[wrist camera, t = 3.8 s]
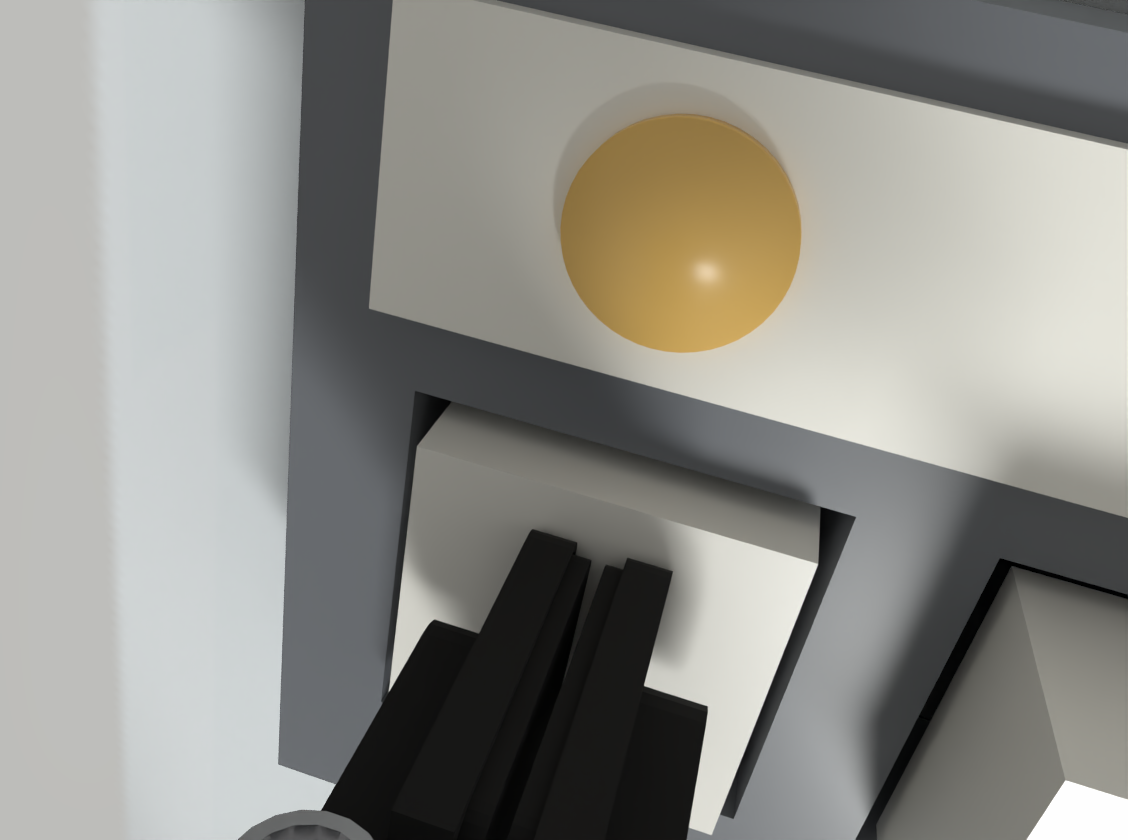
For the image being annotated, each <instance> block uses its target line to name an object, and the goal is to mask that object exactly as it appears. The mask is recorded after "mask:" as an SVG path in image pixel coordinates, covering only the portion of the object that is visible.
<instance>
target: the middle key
mask: <svg viewBox="0 0 1128 840" xmlns="http://www.w3.org/2000/svg"><path fill="white" fill-rule="evenodd" d="M876 829H877V840H1128V599H1125V598H1122V597H1118V596H1115V595H1111V594H1108V593H1104V592H1101V591H1097V590H1094V589H1090V588H1087V587H1083V586H1080V585H1076V584H1073V583H1069V582H1066V581H1062V580H1059V579H1055V578H1052V577H1048V576H1045V575H1041V574H1038V573H1034V572H1031V571H1027V570H1024V569H1020V568H1017V567H1013V566H1011V568H1010V570H1009V572H1008V574H1007V576H1006V578H1005V580H1004V582H1003V584H1002V586H1001V587H1000V589H999V591H998V593H997V595H996V597H995V599H994V601H993V603H992V605H991V607H990V608H989V610H988V612H987V614H986V616H985V618H984V620H983V622H982V624H981V626H980V628H979V629H978V631H977V633H976V635H975V637H974V639H973V641H972V643H971V645H970V647H969V649H968V650H967V652H966V654H965V656H964V658H963V660H962V662H961V664H960V666H959V668H958V670H957V671H956V673H955V675H954V677H953V679H952V681H951V683H950V685H949V687H948V689H947V691H946V692H945V694H944V696H943V698H942V700H941V702H940V704H939V706H938V708H937V710H936V711H935V713H934V715H933V717H932V719H931V721H930V723H929V725H928V727H927V729H926V731H925V732H924V734H923V736H922V738H921V740H920V742H919V744H918V746H917V748H916V750H915V752H914V753H913V755H912V757H911V759H910V761H909V763H908V765H907V767H906V769H905V771H904V773H903V774H902V776H901V778H900V780H899V782H898V784H897V786H896V788H895V790H894V792H893V794H892V795H891V797H890V799H889V801H888V803H887V805H886V807H885V809H884V811H883V813H882V815H881V816H880V818H879V820H878V822H877V824H876Z"/></svg>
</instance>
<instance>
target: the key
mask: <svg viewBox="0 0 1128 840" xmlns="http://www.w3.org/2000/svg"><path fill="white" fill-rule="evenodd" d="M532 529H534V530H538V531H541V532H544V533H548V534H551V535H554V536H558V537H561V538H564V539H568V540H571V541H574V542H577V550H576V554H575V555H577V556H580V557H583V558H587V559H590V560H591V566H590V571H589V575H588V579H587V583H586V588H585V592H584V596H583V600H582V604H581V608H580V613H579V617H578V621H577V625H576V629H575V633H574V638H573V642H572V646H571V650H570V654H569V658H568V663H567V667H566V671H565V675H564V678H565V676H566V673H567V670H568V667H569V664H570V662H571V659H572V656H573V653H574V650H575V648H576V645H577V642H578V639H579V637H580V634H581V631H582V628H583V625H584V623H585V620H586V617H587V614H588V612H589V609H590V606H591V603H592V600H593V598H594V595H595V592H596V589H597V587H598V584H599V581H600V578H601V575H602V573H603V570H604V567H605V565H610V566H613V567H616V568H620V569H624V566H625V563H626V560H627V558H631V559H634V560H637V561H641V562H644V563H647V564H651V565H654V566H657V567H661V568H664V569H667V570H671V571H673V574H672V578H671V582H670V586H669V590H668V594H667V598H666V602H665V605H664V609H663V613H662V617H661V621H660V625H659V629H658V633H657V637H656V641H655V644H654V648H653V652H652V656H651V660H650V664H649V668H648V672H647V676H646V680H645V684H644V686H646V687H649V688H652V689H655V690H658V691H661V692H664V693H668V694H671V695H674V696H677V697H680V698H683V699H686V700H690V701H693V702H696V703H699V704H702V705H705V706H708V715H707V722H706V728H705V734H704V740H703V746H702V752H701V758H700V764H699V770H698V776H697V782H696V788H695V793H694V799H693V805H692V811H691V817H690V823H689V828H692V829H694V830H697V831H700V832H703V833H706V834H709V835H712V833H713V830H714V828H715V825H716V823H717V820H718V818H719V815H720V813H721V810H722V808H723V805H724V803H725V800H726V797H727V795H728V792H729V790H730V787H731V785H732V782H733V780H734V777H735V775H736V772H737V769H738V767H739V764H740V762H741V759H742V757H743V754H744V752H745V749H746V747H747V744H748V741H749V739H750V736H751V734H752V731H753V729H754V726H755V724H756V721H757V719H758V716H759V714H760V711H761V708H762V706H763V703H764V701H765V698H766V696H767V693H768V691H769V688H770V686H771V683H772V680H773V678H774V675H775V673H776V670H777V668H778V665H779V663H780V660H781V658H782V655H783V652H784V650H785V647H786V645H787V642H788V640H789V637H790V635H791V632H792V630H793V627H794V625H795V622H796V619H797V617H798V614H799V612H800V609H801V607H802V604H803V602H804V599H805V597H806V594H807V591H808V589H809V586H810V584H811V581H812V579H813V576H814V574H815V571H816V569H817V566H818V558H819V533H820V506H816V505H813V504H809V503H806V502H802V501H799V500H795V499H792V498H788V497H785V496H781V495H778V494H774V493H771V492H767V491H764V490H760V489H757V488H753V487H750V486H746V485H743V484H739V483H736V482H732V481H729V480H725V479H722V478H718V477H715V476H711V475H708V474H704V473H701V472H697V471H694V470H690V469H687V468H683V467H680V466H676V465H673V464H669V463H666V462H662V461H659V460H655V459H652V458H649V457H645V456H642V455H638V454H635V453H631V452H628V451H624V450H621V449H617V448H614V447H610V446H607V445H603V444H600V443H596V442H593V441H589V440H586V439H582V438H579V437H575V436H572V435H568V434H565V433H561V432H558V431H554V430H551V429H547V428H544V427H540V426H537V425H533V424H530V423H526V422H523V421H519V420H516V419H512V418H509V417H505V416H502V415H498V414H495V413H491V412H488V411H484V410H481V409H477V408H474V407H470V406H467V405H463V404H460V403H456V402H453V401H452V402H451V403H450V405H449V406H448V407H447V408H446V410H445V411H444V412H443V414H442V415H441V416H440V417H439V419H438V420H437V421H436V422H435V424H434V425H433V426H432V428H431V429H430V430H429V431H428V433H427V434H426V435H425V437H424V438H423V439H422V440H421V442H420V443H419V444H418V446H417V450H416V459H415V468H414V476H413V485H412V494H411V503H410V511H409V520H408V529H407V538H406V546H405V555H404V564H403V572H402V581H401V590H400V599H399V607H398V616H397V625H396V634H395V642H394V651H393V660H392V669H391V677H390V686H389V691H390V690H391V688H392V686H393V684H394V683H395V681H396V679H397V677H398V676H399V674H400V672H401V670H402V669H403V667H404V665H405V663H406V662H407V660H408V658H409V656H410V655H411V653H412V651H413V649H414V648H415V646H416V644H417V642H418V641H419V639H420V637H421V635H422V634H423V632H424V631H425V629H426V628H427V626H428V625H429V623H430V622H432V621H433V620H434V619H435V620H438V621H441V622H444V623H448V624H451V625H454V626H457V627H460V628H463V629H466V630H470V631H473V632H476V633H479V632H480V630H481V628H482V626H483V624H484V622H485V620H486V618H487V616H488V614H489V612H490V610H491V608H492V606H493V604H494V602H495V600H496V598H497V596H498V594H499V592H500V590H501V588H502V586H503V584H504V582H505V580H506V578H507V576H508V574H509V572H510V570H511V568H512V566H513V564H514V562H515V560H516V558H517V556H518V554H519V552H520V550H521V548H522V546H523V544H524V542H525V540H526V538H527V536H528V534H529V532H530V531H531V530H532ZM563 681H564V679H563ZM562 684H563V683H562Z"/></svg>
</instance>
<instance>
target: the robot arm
mask: <svg viewBox="0 0 1128 840" xmlns="http://www.w3.org/2000/svg"><path fill="white" fill-rule="evenodd" d="M576 550H577V542H574V541H571V540H568V539H564V538H561V537H558V536H554V535H551V534H548V533H544V532H541V531H538V530H534V529H532V530H531V531H530V532H529V534H528V536H527V538H526V540H525V542H524V544H523V546H522V548H521V550H520V552H519V554H518V556H517V558H516V560H515V562H514V564H513V566H512V568H511V570H510V572H509V574H508V576H507V578H506V580H505V582H504V584H503V586H502V588H501V590H500V592H499V594H498V596H497V598H496V600H495V602H494V604H493V606H492V608H491V610H490V612H489V614H488V616H487V618H486V620H485V622H484V624H483V626H482V628H481V630H480V632H479V633H476V632H473V631H470V630H466V629H463V628H460V627H457V626H454V625H451V624H448V623H444V622H441V621H438V620H435V619H434V620H433V621H432V622H430V623H429V625H428V626H427V628H426V629H425V631H424V632H423V634H422V635H421V637H420V639H419V641H418V642H417V644H416V646H415V648H414V649H413V651H412V653H411V655H410V656H409V658H408V660H407V662H406V663H405V665H404V667H403V669H402V670H401V672H400V674H399V676H398V677H397V679H396V681H395V683H394V684H393V686H392V688H391V690H390V691H389V693H388V695H387V696H386V698H385V700H384V702H383V703H382V705H381V707H380V709H379V710H378V712H377V714H376V716H375V717H374V719H373V721H372V723H371V724H370V726H369V728H368V730H367V731H366V733H365V735H364V737H363V738H362V740H361V742H360V744H359V745H358V747H357V749H356V751H355V752H354V754H353V756H352V758H351V759H350V761H349V763H348V765H347V766H346V768H345V770H344V772H343V773H342V775H341V777H340V779H339V780H338V782H337V784H336V785H335V787H334V789H333V791H332V792H331V794H330V796H329V798H328V799H327V801H326V803H325V805H324V806H323V808H322V810H321V811H315V810H298V811H293V812H289V813H284V814H279V815H275V816H273V817H271V818H269V819H267V820H265V821H263V822H261V823H259V824H257V825H255V826H253V827H251V828H250V829H249V830H248V831H247V832H246V833H245V834H243V835H242V836H241V837H240V838H239V839H238V840H687V835H688V829H689V823H690V817H691V811H692V805H693V799H694V793H695V788H696V782H697V776H698V770H699V764H700V758H701V752H702V746H703V740H704V734H705V728H706V722H707V715H708V706H705V705H702V704H699V703H696V702H693V701H690V700H686V699H683V698H680V697H677V696H674V695H671V694H668V693H664V692H661V691H658V690H655V689H652V688H649V687H646V686H644V684H645V680H646V676H647V672H648V668H649V664H650V660H651V656H652V652H653V648H654V644H655V641H656V637H657V633H658V629H659V625H660V621H661V617H662V613H663V609H664V605H665V602H666V598H667V594H668V590H669V586H670V582H671V578H672V574H673V571H671V570H667V569H664V568H661V567H657V566H654V565H651V564H647V563H644V562H641V561H637V560H634V559H631V558H627V560H626V563H625V566H624V569H620V568H616V567H613V566H610V565H605V567H604V570H603V573H602V575H601V578H600V581H599V584H598V587H597V589H596V592H595V595H594V598H593V600H592V603H591V606H590V609H589V612H588V614H587V617H586V620H585V623H584V625H583V628H582V631H581V634H580V637H579V639H578V642H577V645H576V648H575V650H574V653H573V656H572V659H571V662H570V664H569V667H568V670H567V673H566V676H565V678H564V675H565V671H566V667H567V663H568V658H569V654H570V650H571V646H572V642H573V638H574V633H575V629H576V625H577V621H578V617H579V613H580V608H581V604H582V600H583V596H584V592H585V588H586V583H587V579H588V575H589V571H590V566H591V560H590V559H587V558H583V557H580V556H577V555H575V554H576ZM563 679H564V681H563ZM562 683H563V684H562Z"/></svg>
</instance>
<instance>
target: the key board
mask: <svg viewBox="0 0 1128 840" xmlns="http://www.w3.org/2000/svg"><path fill="white" fill-rule="evenodd" d="M452 401H453V402H456V403H460V404H463V405H467V406H470V407H474V408H477V409H481V410H484V411H488V412H491V413H495V414H498V415H502V416H505V417H509V418H512V419H516V420H519V421H523V422H526V423H530V424H533V425H537V426H540V427H544V428H547V429H551V430H554V431H558V432H561V433H565V434H568V435H572V436H575V437H579V438H582V439H586V440H589V441H593V442H596V443H600V444H603V445H607V446H610V447H614V448H617V449H621V450H624V451H628V452H631V453H635V454H638V455H642V456H645V457H649V458H652V459H655V460H659V461H662V462H666V463H669V464H673V465H676V466H680V467H683V468H687V469H690V470H694V471H697V472H701V473H704V474H708V475H711V476H715V477H718V478H722V479H725V480H729V481H732V482H736V483H739V484H743V485H746V486H750V487H753V488H757V489H760V490H764V491H767V492H771V493H774V494H778V495H781V496H785V497H788V498H792V499H795V500H799V501H802V502H806V503H809V504H813V505H816V506H820V533H819V558H818V566H817V569H816V571H815V574H814V576H813V579H812V581H811V584H810V586H809V589H808V591H807V594H806V597H805V599H804V602H803V604H802V607H801V609H800V612H799V614H798V617H797V619H796V622H795V625H794V627H793V630H792V632H791V635H790V637H789V640H788V642H787V645H786V647H785V650H784V652H783V655H782V658H781V660H780V663H779V665H778V668H777V670H776V673H775V675H774V678H773V680H772V683H771V686H770V688H769V691H768V693H767V696H766V698H765V701H764V703H763V706H762V708H761V711H760V714H759V716H758V719H757V721H756V724H755V726H754V729H753V731H752V734H751V736H750V739H749V741H748V744H747V747H746V749H745V752H744V754H743V757H742V759H741V762H740V764H739V767H738V769H737V772H736V775H735V777H734V780H733V782H732V785H731V787H730V790H729V792H728V795H727V797H726V800H725V803H724V805H723V808H722V810H721V813H720V815H719V818H718V820H717V823H716V825H715V828H714V830H713V833H712V835H709V834H706V833H703V832H700V831H697V830H694V829H692V828H689V829H688V835H687V840H877V829H876V824H877V822H878V820H879V818H880V816H881V815H882V813H883V811H884V809H885V807H886V805H887V803H888V801H889V799H890V797H891V795H892V794H893V792H894V790H895V788H896V786H897V784H898V782H899V780H900V778H901V776H902V774H903V773H904V771H905V769H906V767H907V765H908V763H909V761H910V759H911V757H912V755H913V753H914V752H915V750H916V748H917V746H918V744H919V742H920V740H921V738H922V736H923V734H924V732H925V731H926V729H927V727H928V725H929V723H930V721H929V720H926V719H923V718H919V717H918V716H919V714H920V713H921V711H922V709H923V707H924V705H925V703H926V701H927V699H928V697H929V695H930V693H931V691H932V689H933V687H934V685H935V683H936V681H937V679H938V677H939V676H940V674H941V672H942V670H943V668H944V666H945V664H946V662H947V660H948V658H949V656H950V654H951V652H952V650H953V648H954V646H955V644H956V642H957V640H958V638H959V637H960V635H961V633H962V631H963V629H964V627H965V625H966V623H967V621H968V619H969V617H970V615H971V613H972V611H973V609H974V607H975V605H976V603H977V601H978V600H979V598H980V596H981V594H982V592H983V590H984V588H985V586H986V584H987V582H988V580H989V578H990V576H991V574H992V572H993V570H994V568H995V566H996V564H997V562H998V561H999V559H1000V558H1002V559H1005V560H1009V561H1012V562H1016V563H1019V564H1023V565H1026V566H1030V567H1033V568H1037V569H1040V570H1044V571H1047V572H1051V573H1054V574H1058V575H1061V576H1065V577H1068V578H1072V579H1075V580H1079V581H1082V582H1086V583H1089V584H1093V585H1096V586H1100V587H1103V588H1107V589H1110V590H1114V591H1117V592H1121V593H1124V594H1128V14H1124V13H1119V12H1114V11H1109V10H1105V9H1100V8H1095V7H1090V6H1086V5H1081V4H1076V3H1071V2H1067V1H1062V0H305V17H304V45H303V74H302V102H301V131H300V159H299V188H298V216H297V245H296V273H295V301H294V330H293V358H292V387H291V415H290V444H289V472H288V501H287V529H286V558H285V586H284V615H283V643H282V672H281V700H280V728H279V757H278V764H279V765H282V766H285V767H288V768H291V769H293V770H296V771H299V772H302V773H305V774H308V775H311V776H314V777H317V778H319V779H322V780H325V781H328V782H331V783H334V784H337V782H338V780H339V779H340V777H341V775H342V773H343V772H344V770H345V768H346V766H347V765H348V763H349V761H350V759H351V758H352V756H353V754H354V752H355V751H356V749H357V747H358V745H359V744H360V742H361V740H362V738H363V737H364V735H365V733H366V731H367V730H368V728H369V726H370V724H371V723H372V721H373V719H374V717H375V716H376V714H377V712H378V710H379V709H380V707H381V705H382V703H383V702H384V700H385V698H386V696H387V695H388V693H389V686H390V677H391V669H392V660H393V651H394V642H395V634H396V625H397V616H398V607H399V599H400V590H401V581H402V572H403V564H404V555H405V546H406V538H407V529H408V520H409V511H410V503H411V494H412V485H413V476H414V468H415V459H416V450H417V446H418V444H419V443H420V442H421V440H422V439H423V438H424V437H425V435H426V434H427V433H428V431H429V430H430V429H431V428H432V426H433V425H434V424H435V422H436V421H437V420H438V419H439V417H440V416H441V415H442V414H443V412H444V411H445V410H446V408H447V407H448V406H449V405H450V403H451V402H452Z"/></svg>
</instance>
